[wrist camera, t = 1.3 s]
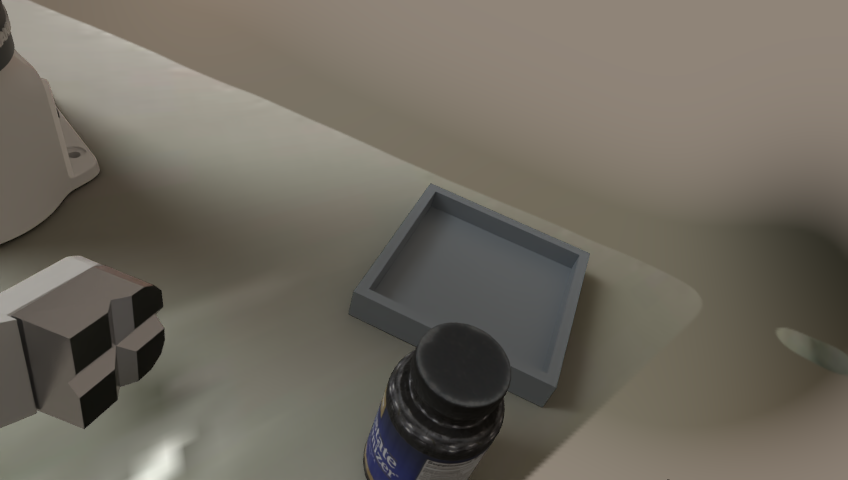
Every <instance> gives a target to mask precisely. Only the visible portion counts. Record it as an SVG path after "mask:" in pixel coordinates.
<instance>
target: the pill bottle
mask: <svg viewBox="0 0 848 480" xmlns="http://www.w3.org/2000/svg"><path fill="white" fill-rule="evenodd" d="M510 381H511V367H510V362H509V359H508V357H507V355H506V353H505V351H504V349H503V348H502V347H501V346H500V344H499V343H498V342H497V341H496V340H495V339H494V338H492V337H491V335H489V334H488V333H486V332H485V331H483V330H481V329H479V328H477V327H475V326H471V325H469V324H464V323H457V322H455V323H452V322H450V323H443V324H440V325H437V326H435V327H433V328H432V329H430V330H428V331H427V332H426V333H425V334H424V335H423V337H422V338H421V339H420V341H419V343H418V345H417V347H416V350H414V351H412V352H411V353H409V354H408V355H407V356H405V357H404V358H403V359H402V360H401V361H400V362H399V363H398V365H397V366H396V367H395V368H394V370H393V372H392V373H391V376H390V378H389V382H388V385H387V387H386V390H385V393H384V396H383V398H382V401H381V404H380V406H379V409H378V412H377V415H376V418H375V420H374V423H373V426H372V429H371V431H370V434H369V437H368V440H367V442H366V445H365V450H364V458H363V464H364V470H365V475H366V478H367V480H467V479H468V478H469V476H470V475H471V473H472V472H473V470H474V469H475V467H476V466H477V464H478V463H479V461H480V460H481V458H482V457H483V455H484V454H485V452H486V451H487V450H488V448H489V447H490V445H491V444H492V442H493V441H494V439H495V437H496V436H497V434H498V433H499V431H500V428H501V426H502V423H503V418H504V410H505V408H504V396H505V394H506V392H507V390H508V388H509V386H510Z"/></svg>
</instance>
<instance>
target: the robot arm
mask: <svg viewBox="0 0 848 480" xmlns="http://www.w3.org/2000/svg"><path fill="white" fill-rule="evenodd" d="M10 30H11V26H10V21H9V18H8V14H7V11H6V9H5V7H4V5H3V4H2V1H1V0H0V244H2V243H4V242H7V241H9V240H11V239H14V238H16V237H18V236H20V235H22V234H24V233H25V232H27V231H29V230H31V229H32V228H34V227H35V226H37V225H38V224H40V223H41V222H42V221H44V220H45V219H46V218H47V217H48V216H49V215H51V214H52V213H53V212H54V211H55V209H56V208H57V207H58V206H59V205H60V203H61V202H62V201H63V200H64V198H65V197H66V196H67V195H68V194H69V193H70V192H71V191H72V190H74V189H76V188H78V187H80V186H81V185H83V184H85V183H87V182H88V181H90V180H92V179H93V178H94V177H96V176H97V175H98V174H99V172H100V168H99V165H98V162H97V159H96V157H95V156H94V155H93V153H92V152H91V151H90V149H89V148H88V147H87V146H86V144H85V143H84V142H83V140H82V139H81V138H80V136H79V135H78V134H77V133H76V131H75V130H74V129H73V127H72V126H71V125H70V123H69V122H68V121H67V120H66V118H65V117H64V116H63V114H62V113H61V112H60V110H59V109H58V108H57V107H56V105H55V102H54V98H53V94H52V91H51V87H50V85H49V82H48V81H47V80H46V79H43V78H40V76H39V74H38V73H37V71H36V70H35V69H34V67H33V66H32V65H31V64H29V63H28V62H27V61H26V60H25V59H24V58H23V57H22V56H21V55H20V54H19V53H18V52H17V51H16V50H15V49H14V42H13V39H12V35H11V31H10ZM162 308H163V299H162V290H160V289H159V288H157V287H156V286H154V285H152V284H150V283H147V282H145V281H142V280H140V279H137V278H135V277H133V276H130V275H128V274H125V273H123V272H120V271H118V270H115V269H113V268H111V267H108V266H106V265H102V264H99V263H97V262H94V261H92V260H89V259H87V258H85V257H82V256H80V255H79V256H67V257H65V258H64V259H62V260H60V261H58V262H56V263H54V264H53V265H51V266H49V267H47V268H45V269H43V270H42V271H40V272H38V273H36V274H34V275H32V276H31V277H29V278H27V279H25V280H23V281H21V282H20V283H18V284H16V285H14V286H12V287H10V288H9V289H7V290H5V291H3V292H1V293H0V428H2V427H4V426H7V425H9V424H12V423H14V422H17V421H19V420H21V419H24V418H26V417H29V416H31V415H34V414H36V413H37V410H38V411H40V412H43V413H45V414H48V415H50V416H53V417H55V418H58V419H60V420H63V421H65V422H68V423H70V424H73V425H75V426H78V427H80V428H83V429H85V428H86V427H87V426H89V425H90V424H91V423H92V422H93V421H94V420H95V419H96V418H98V417H99V416H100V415H101V414H102V413H103V412H104V411H106V410H107V409H108V408H109V407H110V406H111V405H112V404H113V403H115V402H116V401H117V400H118V395H119V390H120V387H121V386H124V385H128V384H131V383H134V382H137V381H139V380H140V379H141V378H142V377H144V376H145V375H146V374H147V373H148V372H149V371H150V370H151V369H152V368H153V366H154V364H155V363H156V361H157V359H158V358H159V356H160V355H161V353H162V349H163V345H164V341H165V333H164V327H163V325H162V324H161V322H160V320H159V319H158V317H157V315H156V314H157V313H158V312H159V311H160V310H161V309H162Z"/></svg>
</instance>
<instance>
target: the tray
mask: <svg viewBox="0 0 848 480" xmlns="http://www.w3.org/2000/svg"><path fill="white" fill-rule="evenodd" d="M589 255H590V253H588V252H586V251H583V250H581V249H579V248H576V247H574V246H572V245H570V244H567V243H565V242H563V241H561V240H558V239H556V238H554V237H551V236H549V235H547V234H545V233H542V232H540V231H538V230H536V229H533V228H531V227H529V226H527V225H524V224H522V223H520V222H517V221H515V220H513V219H511V218H508V217H506V216H504V215H502V214H499V213H497V212H495V211H492V210H490V209H488V208H486V207H483V206H481V205H479V204H477V203H474V202H472V201H470V200H467V199H465V198H463V197H461V196H458V195H456V194H454V193H452V192H449V191H447V190H445V189H442V188H440V187H438V186H436V185H433V184H431V183H430V185H429V186H428V187H427V189H426V190H425V192H424V193H423V195H422V196H421V197H420V199H419V200H418V202H417V203H416V204H415V206H414V207H413V209H412V210H411V211H410V213H409V214H408V216H407V217H406V218H405V220H404V221H403V223H402V224H401V225H400V227H399V228H398V230H397V231H396V232H395V234H394V235H393V237H392V238H391V239H390V241H389V242H388V244H387V245H386V247H385V248H384V249H383V251H382V252H381V254H380V255H379V256H378V258H377V259H376V261H375V262H374V263H373V265H372V266H371V268H370V269H369V270H368V272H367V273H366V275H365V276H364V277H363V279H362V280H361V282H360V283H359V284H358V286H357V287H356V289H355V290H354V292H353V296H352V301H351V305H350V309H349V314H350V315H352V316H354V317H356V318H358V319H360V320H362V321H364V322H366V323H368V324H370V325H372V326H374V327H376V328H379V329H381V330H383V331H385V332H387V333H389V334H391V335H393V336H395V337H397V338H399V339H401V340H403V341H406V342H408V343H410V344H412V345H414V346H416V347H417V345H418V343H419V341H420V339H421V338H422V337H423V335H424V334H425V333H426V332H427V331H428V330H430V329H432V328H433V327H435V326H437V325H440V324H443V323H450V322H452V323H455V322H457V323H464V324H469V325H471V326H475V327H477V328H479V329H481V330H483V331H485V332H486V333H488V334H489V335H491V337H492V338H494V339H495V340H496V341H497V342H498V343H499V344H500V346H501V347H502V348H503V349H504V351H505V353H506V355H507V357H508V359H509V362H510V367H511V381H510V386H509V388H508V390H507V391H509V392H511V393H513V394H516V395H518V396H520V397H522V398H524V399H526V400H528V401H530V402H532V403H534V404H536V405H538V406H540V407H543V406H544V404H545V403H546V402H547V400H548V399H549V397H550V396H551V395H552V393H553V392H554V390H555V389H556V387H557V383H558V379H559V375H560V371H561V367H562V363H563V359H564V355H565V351H566V347H567V343H568V339H569V335H570V331H571V327H572V323H573V319H574V315H575V311H576V307H577V303H578V299H579V295H580V291H581V287H582V283H583V279H584V275H585V271H586V267H587V263H588V259H589Z"/></svg>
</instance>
